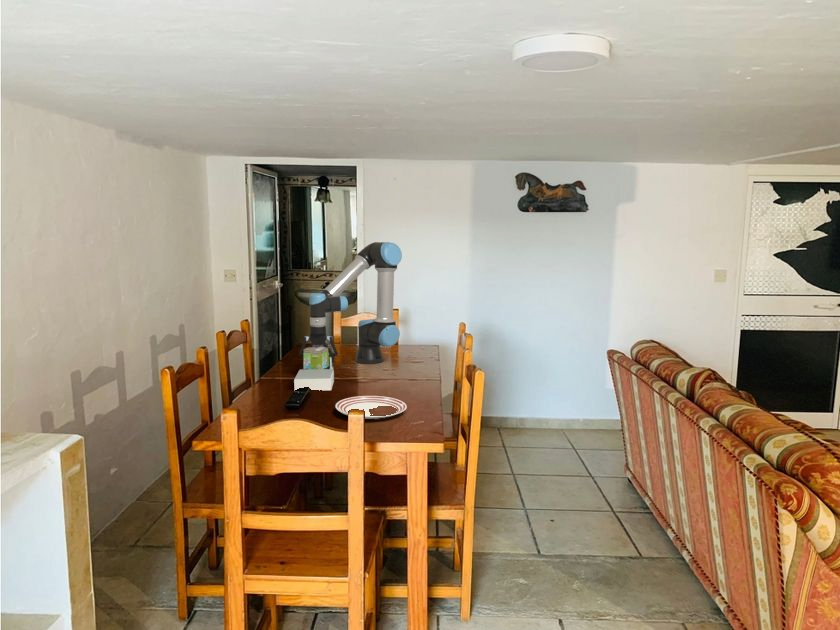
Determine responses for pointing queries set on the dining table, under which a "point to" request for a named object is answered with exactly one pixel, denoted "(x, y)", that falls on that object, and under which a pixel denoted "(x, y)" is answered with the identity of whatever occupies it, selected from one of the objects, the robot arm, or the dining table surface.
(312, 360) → the tea box
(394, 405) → the dinner plate
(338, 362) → the dining table surface
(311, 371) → the plinth
